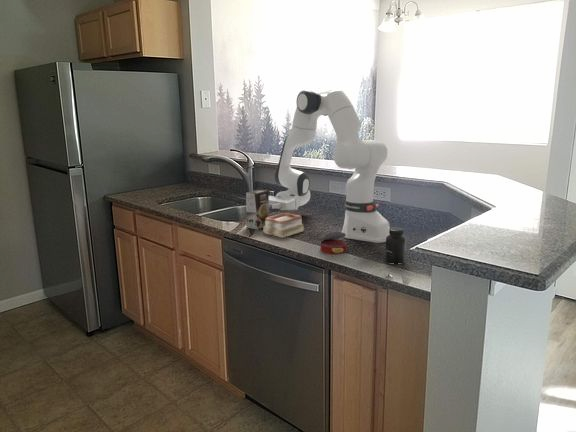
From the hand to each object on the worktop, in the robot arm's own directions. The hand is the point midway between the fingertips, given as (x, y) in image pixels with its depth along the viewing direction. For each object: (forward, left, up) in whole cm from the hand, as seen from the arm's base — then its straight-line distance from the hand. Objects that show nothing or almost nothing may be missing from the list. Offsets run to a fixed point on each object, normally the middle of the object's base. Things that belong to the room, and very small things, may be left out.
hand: (263, 205), depth 208 cm
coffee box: (0, +4, -9) cm, 10 cm away
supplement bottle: (-70, +7, -9) cm, 71 cm away
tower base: (-15, +3, -9) cm, 18 cm away
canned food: (-46, +10, -9) cm, 48 cm away
